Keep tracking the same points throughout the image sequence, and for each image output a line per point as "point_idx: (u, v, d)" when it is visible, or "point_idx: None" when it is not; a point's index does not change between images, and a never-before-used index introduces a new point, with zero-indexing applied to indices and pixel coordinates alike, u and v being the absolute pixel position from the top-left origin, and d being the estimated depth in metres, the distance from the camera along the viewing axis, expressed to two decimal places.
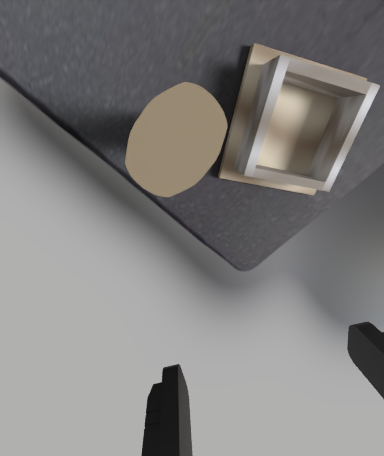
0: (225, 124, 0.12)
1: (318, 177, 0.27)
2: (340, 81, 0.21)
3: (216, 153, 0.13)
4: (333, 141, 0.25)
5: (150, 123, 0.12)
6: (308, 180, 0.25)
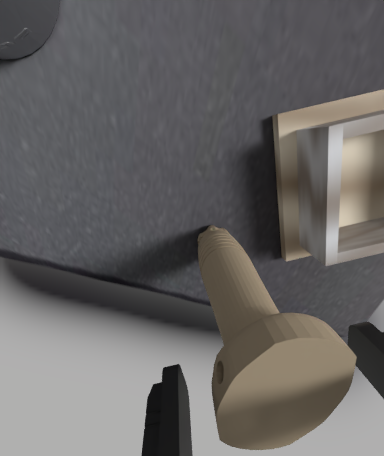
0: (352, 356, 0.08)
1: None
2: None
3: (346, 385, 0.08)
4: None
5: (240, 396, 0.08)
6: None
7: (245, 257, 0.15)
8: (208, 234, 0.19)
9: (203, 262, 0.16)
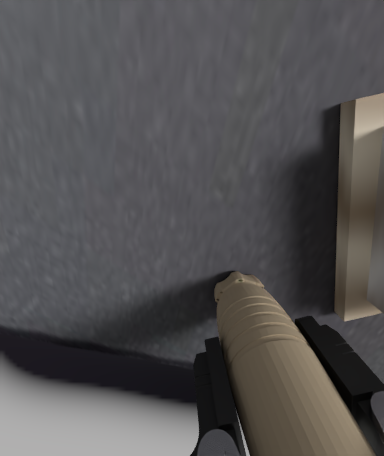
0: None
1: None
2: None
3: None
4: None
5: None
6: None
7: (317, 366, 0.08)
8: (234, 293, 0.12)
9: (232, 361, 0.09)
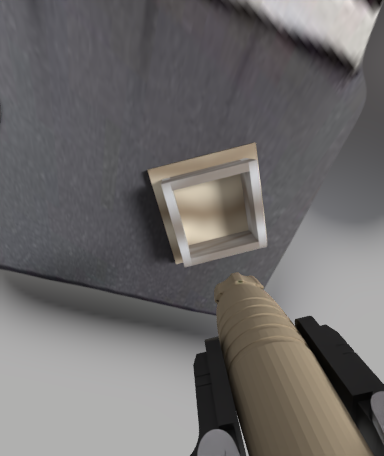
0: None
1: (254, 235, 0.29)
2: (220, 174, 0.24)
3: None
4: (250, 205, 0.28)
5: None
6: (242, 247, 0.28)
7: (316, 367, 0.08)
8: (234, 295, 0.12)
9: (232, 363, 0.09)
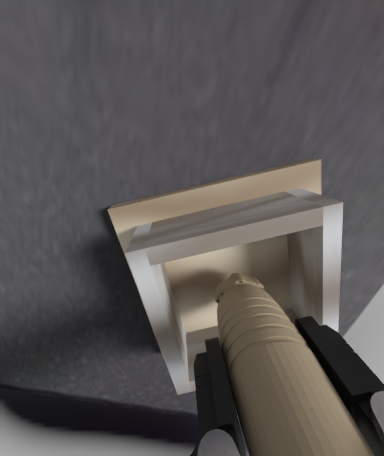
0: None
1: None
2: (258, 233, 0.11)
3: None
4: (306, 281, 0.14)
5: None
6: None
7: (317, 368, 0.08)
8: (234, 295, 0.12)
9: (233, 363, 0.09)
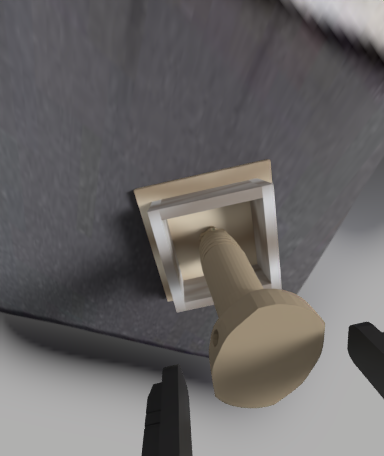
0: (321, 322, 0.09)
1: (265, 273, 0.23)
2: (224, 201, 0.19)
3: (318, 349, 0.10)
4: (261, 238, 0.22)
5: (231, 355, 0.10)
6: None
7: (241, 252, 0.17)
8: (208, 233, 0.21)
9: (203, 257, 0.18)
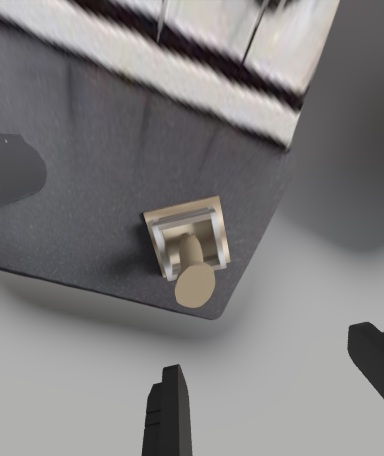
0: (212, 272, 0.27)
1: (218, 259, 0.41)
2: (191, 221, 0.36)
3: (213, 283, 0.28)
4: (214, 239, 0.39)
5: (181, 284, 0.27)
6: None
7: (197, 247, 0.35)
8: (184, 237, 0.39)
9: (180, 250, 0.36)
